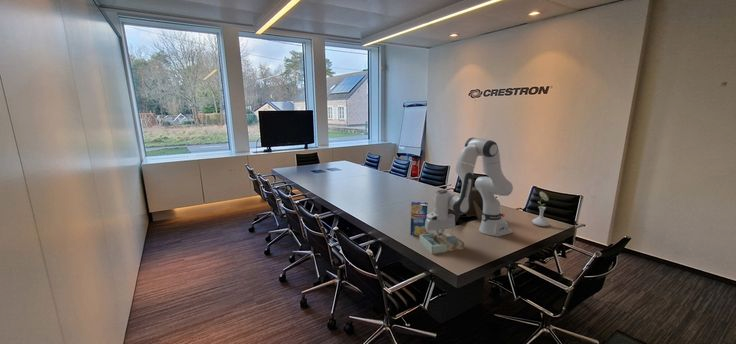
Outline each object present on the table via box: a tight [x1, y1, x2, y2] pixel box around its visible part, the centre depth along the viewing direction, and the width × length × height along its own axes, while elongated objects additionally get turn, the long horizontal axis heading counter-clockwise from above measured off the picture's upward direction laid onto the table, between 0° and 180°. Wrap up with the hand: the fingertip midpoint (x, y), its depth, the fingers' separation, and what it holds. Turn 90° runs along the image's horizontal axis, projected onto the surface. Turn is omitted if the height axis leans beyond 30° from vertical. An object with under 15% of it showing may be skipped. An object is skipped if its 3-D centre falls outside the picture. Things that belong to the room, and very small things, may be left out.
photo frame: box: [465, 186, 483, 222], centre depth 240 cm, size 15×22×25 cm
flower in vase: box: [531, 191, 550, 227], centre depth 226 cm, size 13×11×25 cm
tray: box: [418, 232, 448, 255], centre depth 192 cm, size 10×18×5 cm, turn 15°
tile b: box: [447, 235, 459, 243], centre depth 190 cm, size 5×5×2 cm
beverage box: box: [410, 201, 429, 236], centre depth 211 cm, size 7×11×22 cm, turn 78°
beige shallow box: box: [434, 232, 465, 252], centre depth 195 cm, size 12×16×4 cm
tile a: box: [424, 237, 435, 245], centre depth 195 cm, size 5×5×2 cm
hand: (439, 235), depth 197 cm, fingers closed
